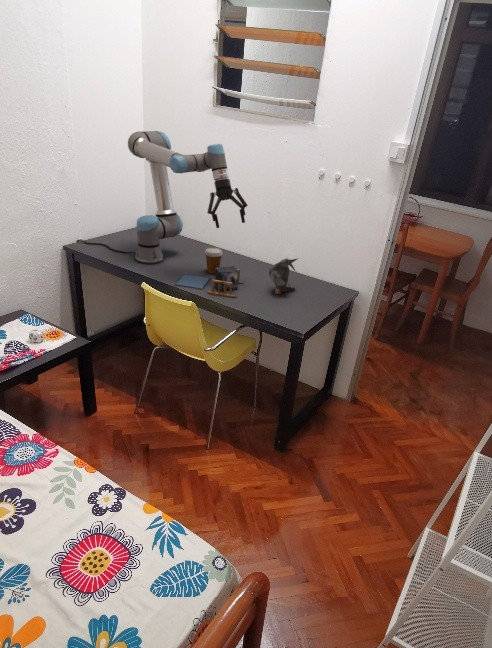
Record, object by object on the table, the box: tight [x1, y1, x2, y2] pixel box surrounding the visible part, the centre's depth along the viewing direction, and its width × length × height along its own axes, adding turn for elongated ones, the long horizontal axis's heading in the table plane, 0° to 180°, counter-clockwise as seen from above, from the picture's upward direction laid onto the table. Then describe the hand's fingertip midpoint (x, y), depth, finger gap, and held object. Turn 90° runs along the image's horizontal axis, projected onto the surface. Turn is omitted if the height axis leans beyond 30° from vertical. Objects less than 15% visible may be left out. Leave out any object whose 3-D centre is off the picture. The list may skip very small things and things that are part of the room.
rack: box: [207, 268, 244, 299], centre depth 234 cm, size 14×19×7 cm
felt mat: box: [175, 273, 210, 290], centre depth 238 cm, size 14×14×1 cm
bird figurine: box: [268, 257, 299, 295], centre depth 235 cm, size 14×15×18 cm
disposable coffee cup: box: [204, 247, 223, 274], centre depth 249 cm, size 10×10×12 cm
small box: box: [214, 265, 239, 292], centre depth 233 cm, size 11×6×10 cm, turn 117°
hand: (230, 225), depth 225 cm, fingers open, 13 cm apart
